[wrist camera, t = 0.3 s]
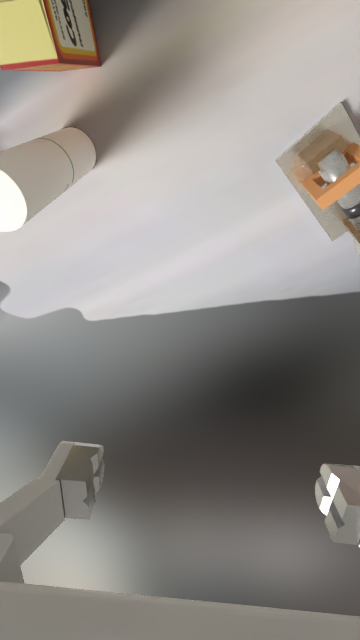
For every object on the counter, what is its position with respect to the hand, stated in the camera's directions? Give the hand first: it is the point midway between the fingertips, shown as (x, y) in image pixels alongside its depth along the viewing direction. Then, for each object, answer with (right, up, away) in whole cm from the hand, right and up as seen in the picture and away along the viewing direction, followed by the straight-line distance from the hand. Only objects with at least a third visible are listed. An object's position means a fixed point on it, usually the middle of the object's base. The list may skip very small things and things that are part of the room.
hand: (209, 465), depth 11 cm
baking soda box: (-16, +46, +29) cm, 57 cm away
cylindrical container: (-19, +34, +39) cm, 56 cm away
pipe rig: (+25, +29, +39) cm, 55 cm away
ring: (+23, +30, +36) cm, 52 cm away
